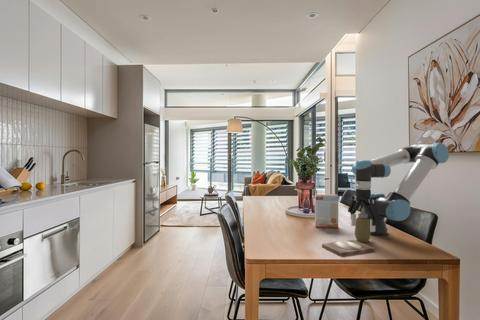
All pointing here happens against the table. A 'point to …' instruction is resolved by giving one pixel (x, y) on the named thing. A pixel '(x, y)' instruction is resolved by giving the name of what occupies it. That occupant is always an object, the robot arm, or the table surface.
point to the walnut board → (348, 247)
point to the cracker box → (326, 210)
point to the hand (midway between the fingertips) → (362, 228)
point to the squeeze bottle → (362, 227)
